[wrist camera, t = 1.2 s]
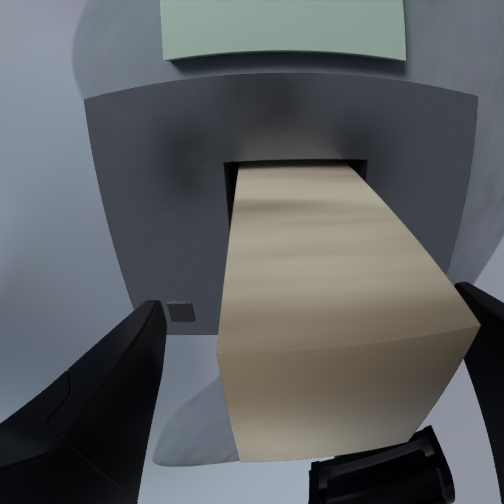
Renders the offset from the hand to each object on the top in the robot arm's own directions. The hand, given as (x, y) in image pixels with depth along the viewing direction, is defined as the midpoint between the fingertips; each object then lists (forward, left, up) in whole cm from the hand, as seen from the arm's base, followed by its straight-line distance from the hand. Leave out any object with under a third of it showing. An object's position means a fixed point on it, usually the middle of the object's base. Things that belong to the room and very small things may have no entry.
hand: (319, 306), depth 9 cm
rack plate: (0, 0, -7) cm, 7 cm away
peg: (0, 0, -7) cm, 7 cm away
